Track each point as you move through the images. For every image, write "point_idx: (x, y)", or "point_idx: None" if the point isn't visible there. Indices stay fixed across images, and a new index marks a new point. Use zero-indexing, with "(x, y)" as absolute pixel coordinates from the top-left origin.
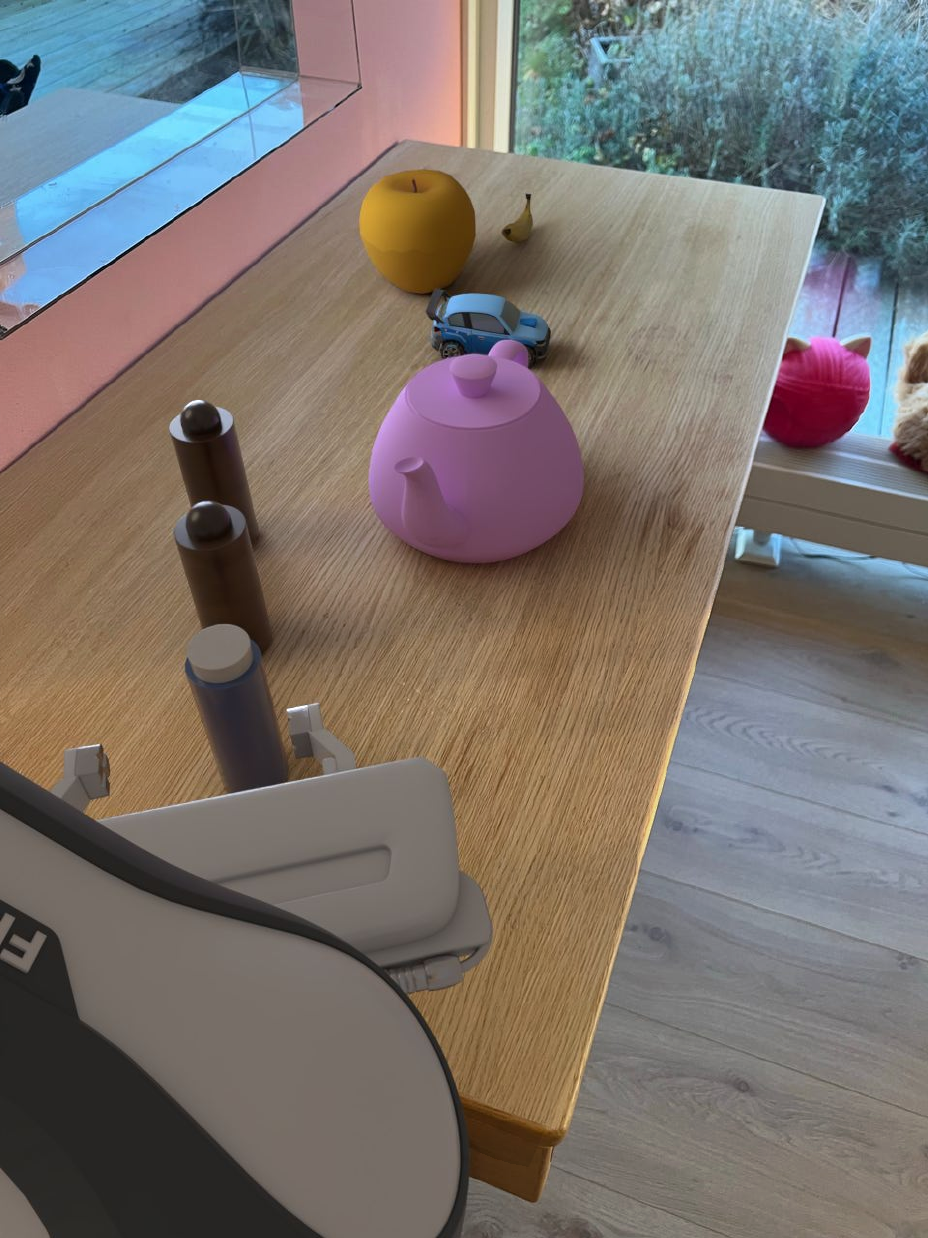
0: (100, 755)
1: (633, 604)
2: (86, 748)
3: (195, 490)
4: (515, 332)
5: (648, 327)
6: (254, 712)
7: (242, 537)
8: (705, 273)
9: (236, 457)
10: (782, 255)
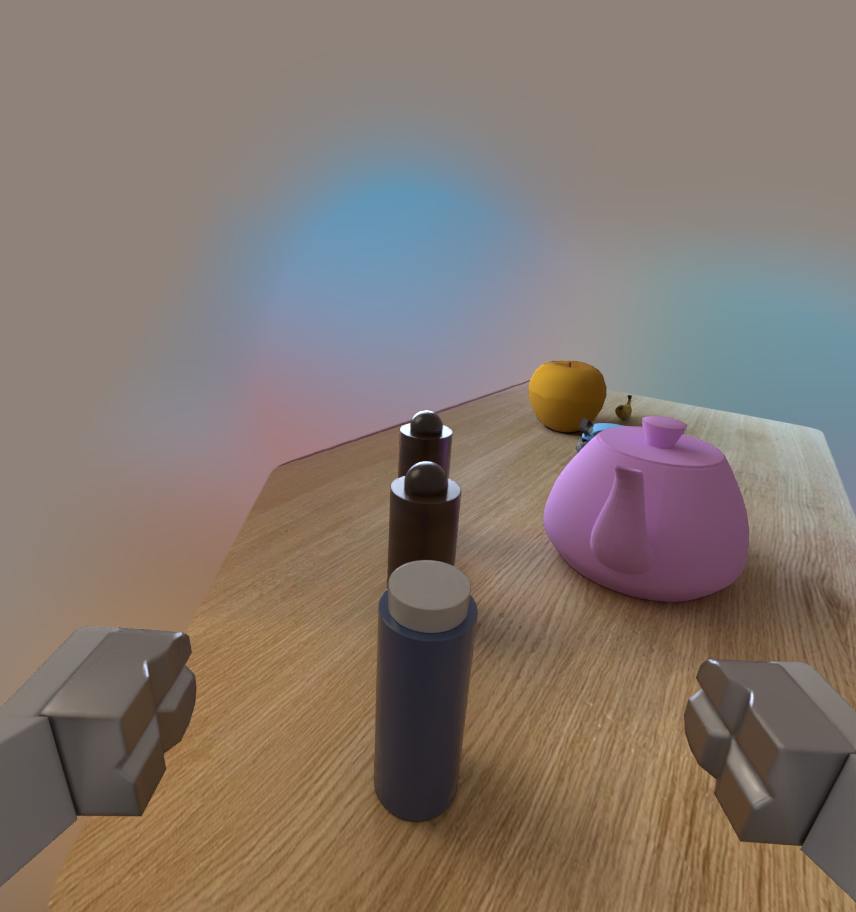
0: (166, 667)
1: (835, 674)
2: (138, 634)
3: None
4: None
5: (734, 471)
6: (451, 690)
7: (456, 501)
8: (763, 451)
9: (447, 463)
10: (817, 451)
